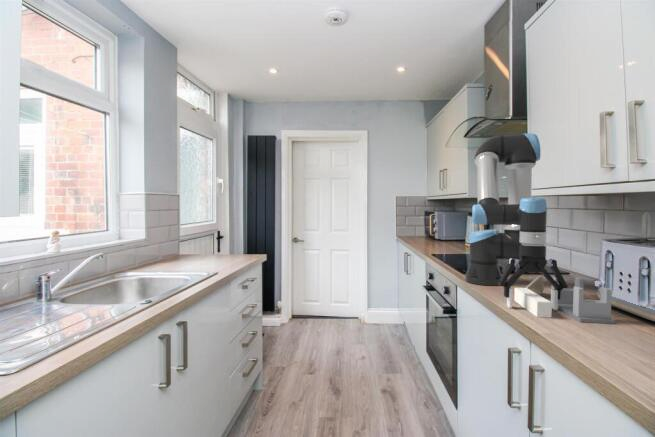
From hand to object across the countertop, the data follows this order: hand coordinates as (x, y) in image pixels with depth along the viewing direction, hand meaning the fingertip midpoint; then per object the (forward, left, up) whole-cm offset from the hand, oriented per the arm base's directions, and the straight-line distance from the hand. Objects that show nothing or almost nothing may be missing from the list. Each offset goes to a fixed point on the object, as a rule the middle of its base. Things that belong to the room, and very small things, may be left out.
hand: (531, 308), depth 111 cm
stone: (-18, +6, 0) cm, 19 cm away
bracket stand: (+2, +13, 0) cm, 13 cm away
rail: (0, 0, 0) cm, 0 cm away
